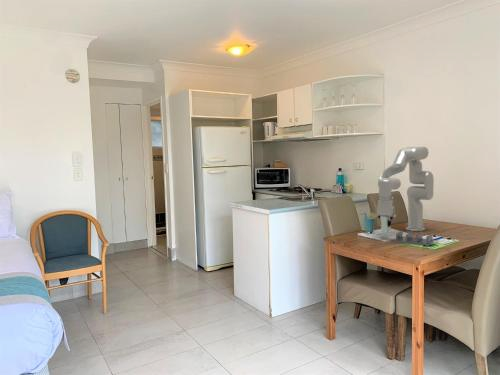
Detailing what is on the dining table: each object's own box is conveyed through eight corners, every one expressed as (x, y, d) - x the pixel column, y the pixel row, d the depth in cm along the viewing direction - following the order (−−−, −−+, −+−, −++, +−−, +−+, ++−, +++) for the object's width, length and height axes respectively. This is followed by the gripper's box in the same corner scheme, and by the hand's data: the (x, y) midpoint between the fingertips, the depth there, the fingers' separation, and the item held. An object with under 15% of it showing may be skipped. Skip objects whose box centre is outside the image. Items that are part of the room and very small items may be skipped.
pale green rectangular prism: (385, 229, 258) (385, 214, 257) (390, 229, 256) (390, 214, 255) (381, 231, 252) (380, 216, 251) (386, 232, 250) (386, 217, 249)
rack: (400, 238, 254) (400, 230, 254) (433, 241, 242) (433, 233, 241) (394, 242, 244) (394, 233, 243) (428, 246, 232) (428, 237, 231)
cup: (365, 234, 269) (365, 213, 268) (357, 233, 276) (357, 212, 275) (379, 232, 276) (379, 211, 275) (371, 230, 283) (370, 210, 282)
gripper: (400, 198, 250) (400, 226, 252) (374, 197, 260) (375, 224, 262) (396, 199, 244) (397, 228, 246) (370, 198, 254) (371, 226, 256)
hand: (385, 225), depth 254 cm, fingers closed on pale green rectangular prism, 3 cm apart
